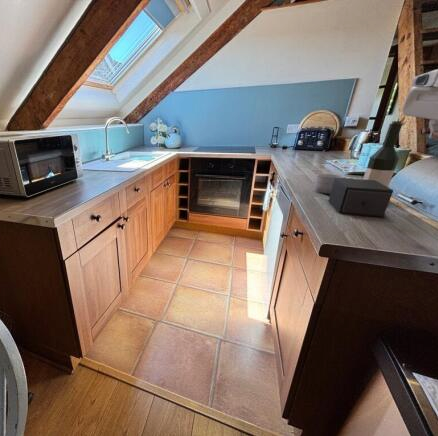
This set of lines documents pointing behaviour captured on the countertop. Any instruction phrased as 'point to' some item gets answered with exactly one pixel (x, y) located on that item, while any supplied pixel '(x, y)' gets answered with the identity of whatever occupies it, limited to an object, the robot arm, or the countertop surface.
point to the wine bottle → (384, 157)
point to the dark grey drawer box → (345, 184)
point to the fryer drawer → (366, 202)
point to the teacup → (326, 182)
